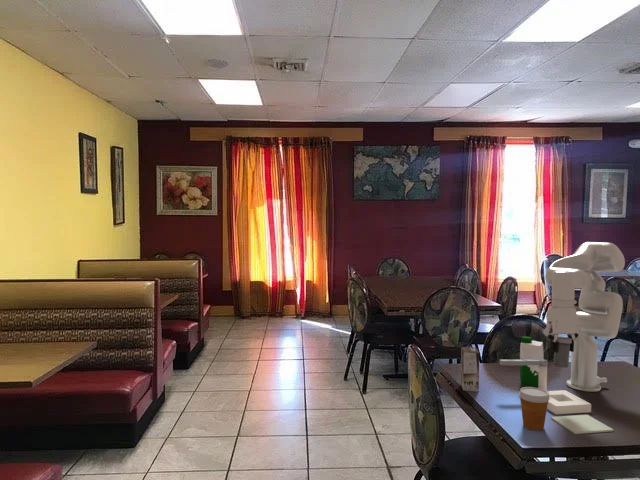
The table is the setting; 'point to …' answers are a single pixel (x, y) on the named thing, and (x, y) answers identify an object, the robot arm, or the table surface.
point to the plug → (562, 352)
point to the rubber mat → (581, 424)
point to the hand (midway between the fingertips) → (562, 350)
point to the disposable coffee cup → (534, 407)
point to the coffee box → (470, 369)
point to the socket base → (562, 398)
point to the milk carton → (530, 352)
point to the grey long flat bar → (524, 362)
